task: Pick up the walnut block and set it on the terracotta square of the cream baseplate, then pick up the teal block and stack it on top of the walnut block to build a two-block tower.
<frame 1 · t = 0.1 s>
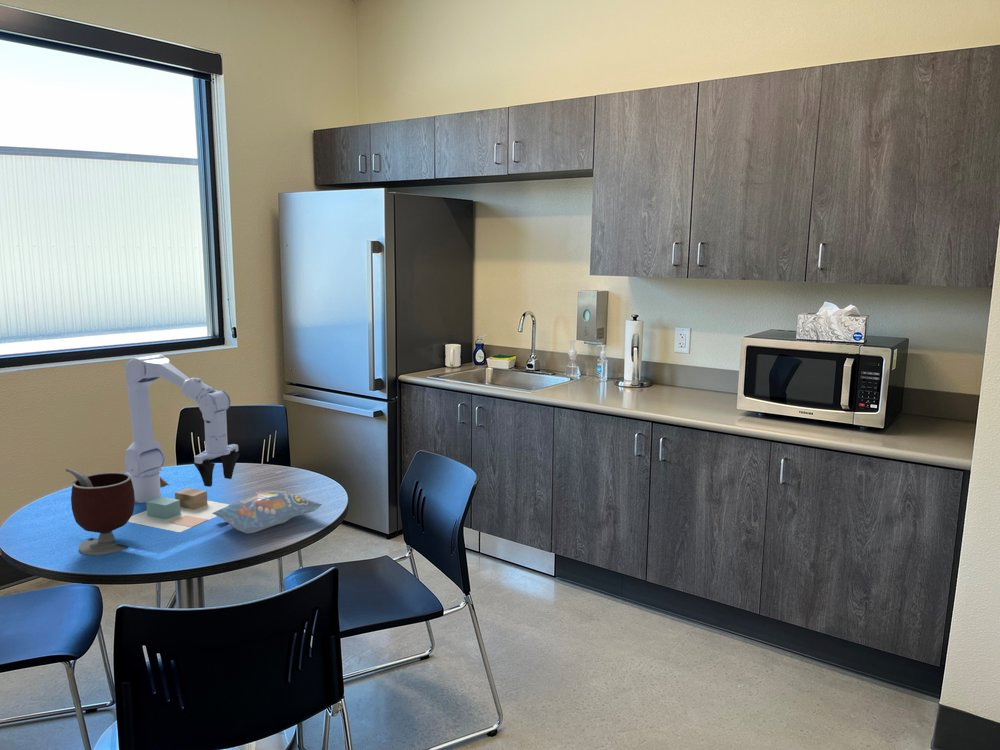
hand: (218, 482, 203), 10 cm above the table, fingers open, 7 cm apart
walnut block: (191, 505, 210), point 1 cm above the table, touching baseplate
baseplate: (182, 517, 204), on the table
wooden block set: (135, 492, 225), on the table
mate gourd: (103, 545, 183), on the table
packet: (267, 524, 200), on the table
teal block: (163, 514, 202), point 1 cm above the table, touching baseplate
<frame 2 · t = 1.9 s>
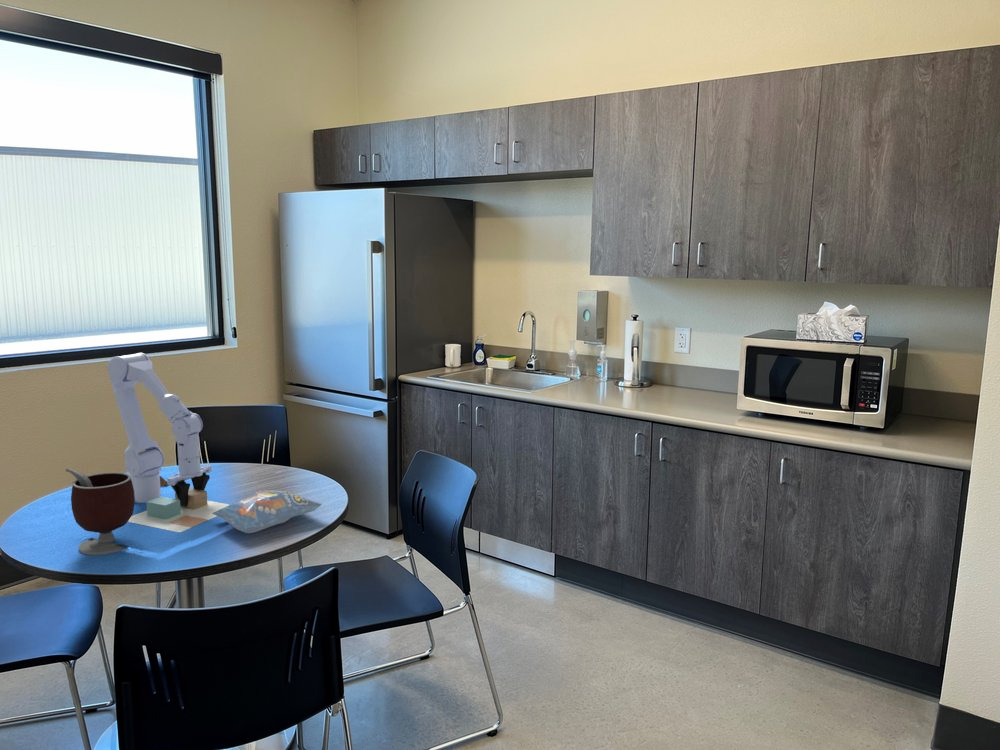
hand: (191, 502, 210), 2 cm above the table, fingers closed on walnut block, 5 cm apart
walnut block: (191, 505, 210), point 1 cm above the table, touching baseplate, gripper
wooden block set: (138, 493, 224), on the table
everything else where it was.
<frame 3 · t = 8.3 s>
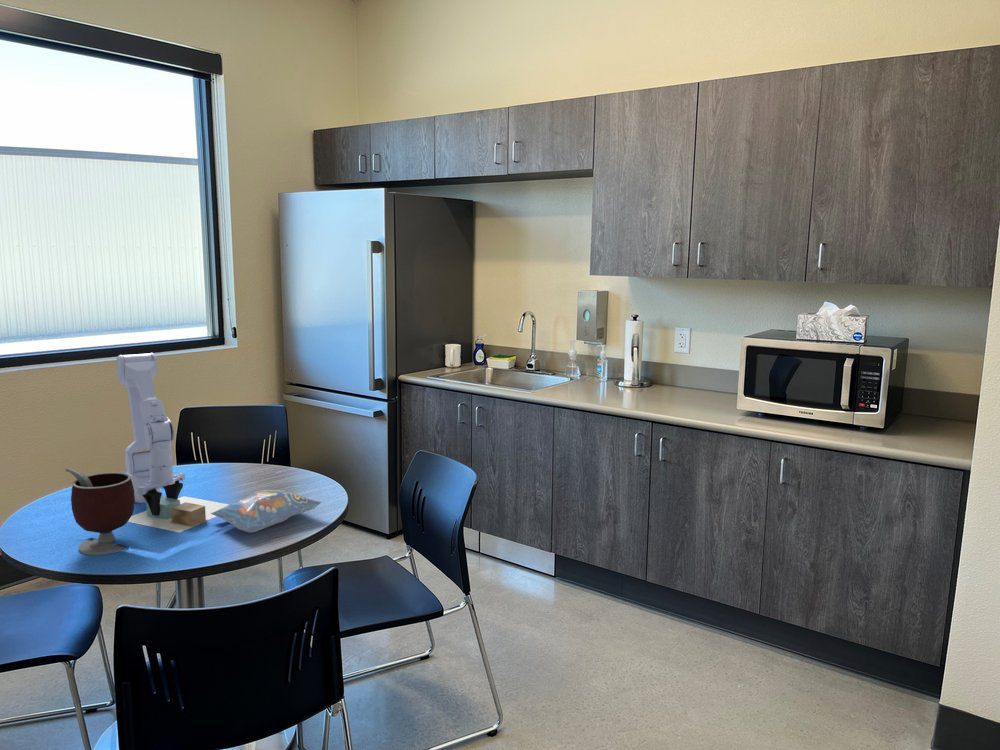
hand: (163, 511, 202), 2 cm above the table, fingers closed on teal block, 5 cm apart
walnut block: (188, 521, 197), point 1 cm above the table, touching baseplate
wooden block set: (140, 495, 222), on the table
teal block: (163, 514, 202), point 1 cm above the table, touching baseplate, gripper
when the fingers open (7 cm above the table, at t = 11.5 s): teal block stays where it is, resting on walnut block.
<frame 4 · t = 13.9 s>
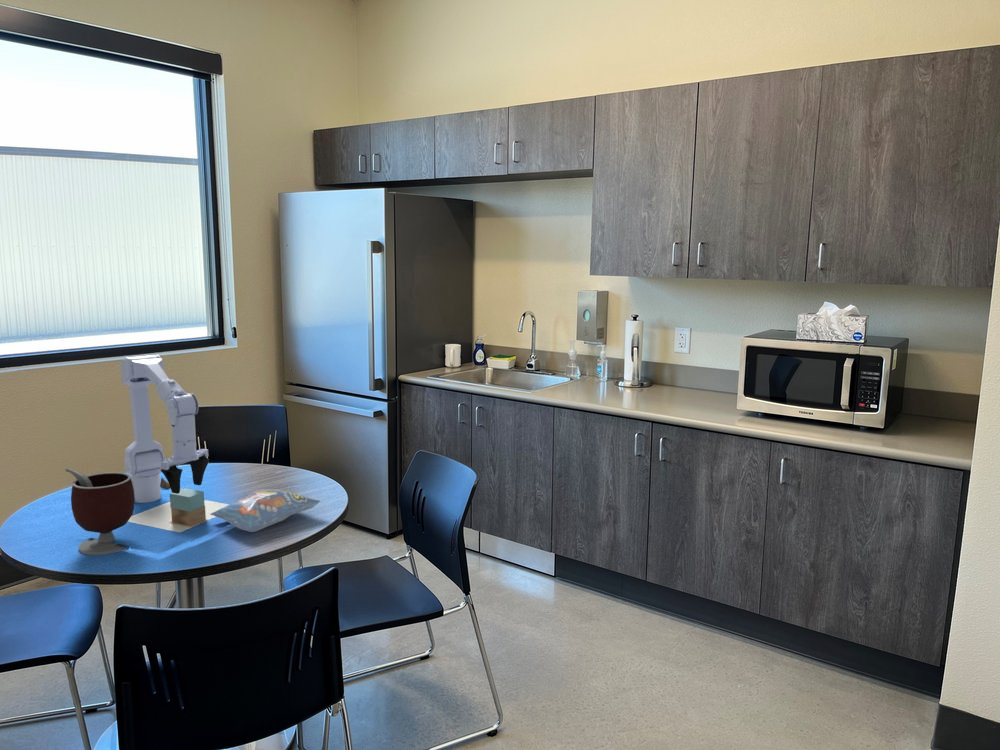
hand: (186, 488, 196), 10 cm above the table, fingers open, 7 cm apart
walnut block: (188, 521, 197), point 1 cm above the table, touching baseplate, teal block
wooden block set: (139, 495, 222), on the table, touching arm
teal block: (187, 506, 197), point 5 cm above the table, touching walnut block
at the end: walnut block 0.1 cm from the target spot, point 1.3 cm above the table; teal block 0.2 cm off-centre on the walnut block, point 4.0 cm above the walnut block's base; teal block tilted 0° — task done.
